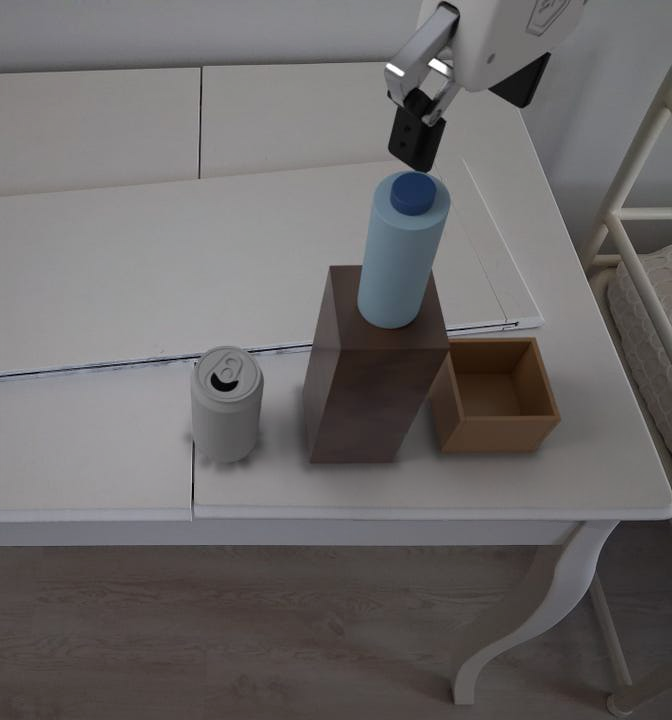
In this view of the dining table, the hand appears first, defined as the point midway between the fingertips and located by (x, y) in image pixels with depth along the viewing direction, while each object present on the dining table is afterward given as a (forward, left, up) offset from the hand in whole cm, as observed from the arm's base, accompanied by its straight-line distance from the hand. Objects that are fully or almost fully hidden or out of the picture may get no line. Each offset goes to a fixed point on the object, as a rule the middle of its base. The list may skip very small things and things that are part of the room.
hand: (459, 128), depth 48 cm
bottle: (+1, +6, -12) cm, 13 cm away
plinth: (+1, +6, -32) cm, 33 cm away
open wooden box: (-11, 0, -32) cm, 34 cm away
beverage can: (+12, +11, -32) cm, 36 cm away
